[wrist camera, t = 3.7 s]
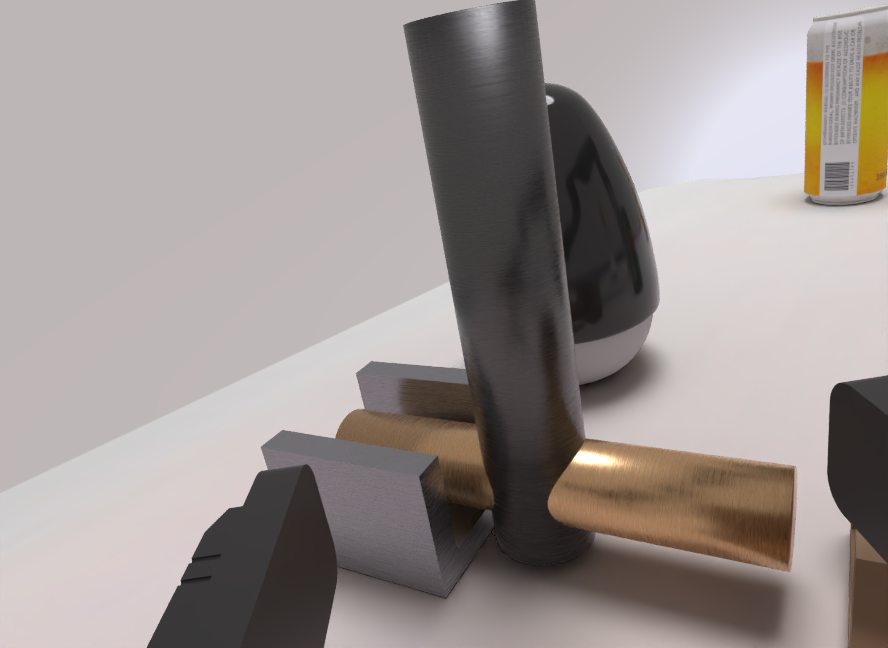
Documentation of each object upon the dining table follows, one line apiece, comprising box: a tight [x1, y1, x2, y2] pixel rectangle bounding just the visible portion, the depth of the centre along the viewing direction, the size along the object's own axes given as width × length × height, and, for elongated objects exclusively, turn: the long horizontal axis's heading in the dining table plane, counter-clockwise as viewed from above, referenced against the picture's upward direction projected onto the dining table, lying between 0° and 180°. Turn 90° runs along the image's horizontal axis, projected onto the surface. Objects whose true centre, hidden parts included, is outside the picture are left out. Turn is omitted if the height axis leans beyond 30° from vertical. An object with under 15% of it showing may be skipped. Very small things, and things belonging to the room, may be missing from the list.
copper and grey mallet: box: [335, 0, 797, 572], centre depth 21 cm, size 4×16×17 cm, turn 61°
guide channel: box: [261, 361, 494, 598], centre depth 27 cm, size 7×7×5 cm
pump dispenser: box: [545, 83, 660, 385], centre depth 35 cm, size 10×10×15 cm
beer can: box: [804, 5, 888, 205], centre depth 56 cm, size 6×6×15 cm
